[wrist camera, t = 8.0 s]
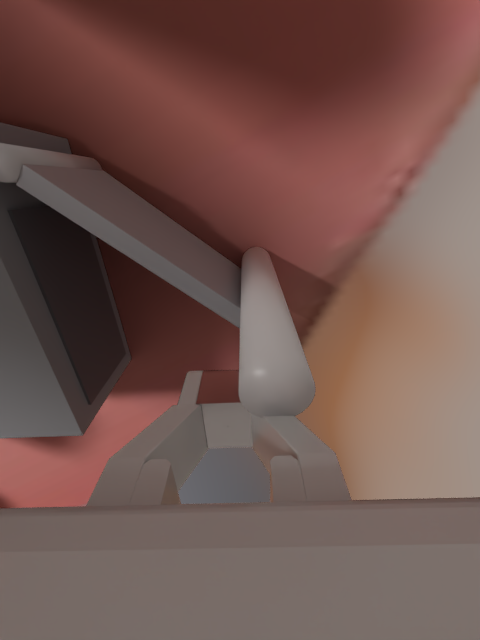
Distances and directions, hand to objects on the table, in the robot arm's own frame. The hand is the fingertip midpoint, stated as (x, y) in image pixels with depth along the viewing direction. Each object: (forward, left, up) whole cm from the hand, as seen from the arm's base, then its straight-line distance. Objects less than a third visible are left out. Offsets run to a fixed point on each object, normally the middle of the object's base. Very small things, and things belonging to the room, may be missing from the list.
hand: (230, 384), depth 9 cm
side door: (-4, -3, -9) cm, 11 cm away
